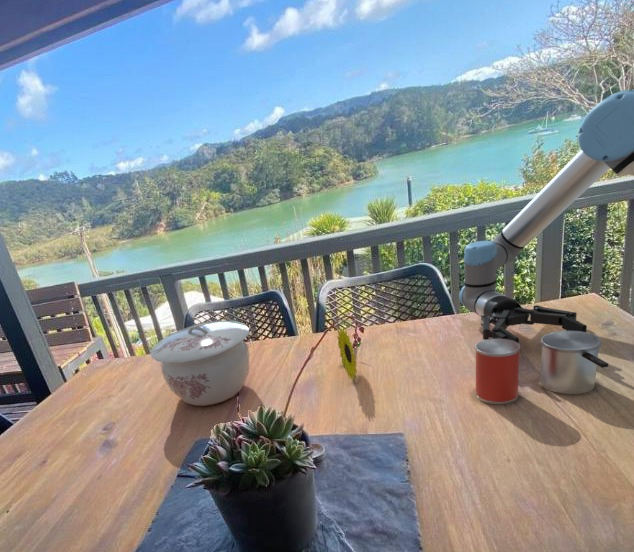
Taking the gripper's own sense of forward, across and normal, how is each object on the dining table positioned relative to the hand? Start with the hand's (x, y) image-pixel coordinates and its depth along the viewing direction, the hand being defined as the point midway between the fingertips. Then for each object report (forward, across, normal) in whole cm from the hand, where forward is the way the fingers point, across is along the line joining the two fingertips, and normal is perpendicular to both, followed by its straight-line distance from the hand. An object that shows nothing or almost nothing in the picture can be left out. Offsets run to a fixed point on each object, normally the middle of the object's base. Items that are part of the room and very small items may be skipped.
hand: (550, 338), depth 93 cm
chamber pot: (-19, +78, -8) cm, 81 cm away
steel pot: (+9, 0, -8) cm, 12 cm away
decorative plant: (-20, +39, -8) cm, 45 cm away
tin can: (+6, +14, -8) cm, 17 cm away
